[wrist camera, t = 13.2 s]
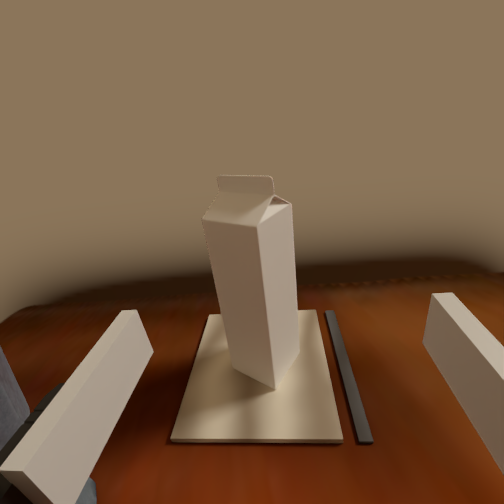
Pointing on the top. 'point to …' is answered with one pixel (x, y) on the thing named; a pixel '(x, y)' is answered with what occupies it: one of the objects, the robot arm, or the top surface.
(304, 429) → the mat
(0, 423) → the moka pot
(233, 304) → the milk
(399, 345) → the top surface
